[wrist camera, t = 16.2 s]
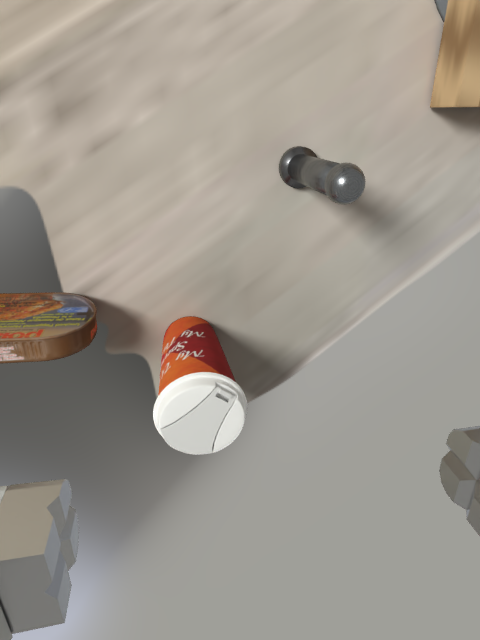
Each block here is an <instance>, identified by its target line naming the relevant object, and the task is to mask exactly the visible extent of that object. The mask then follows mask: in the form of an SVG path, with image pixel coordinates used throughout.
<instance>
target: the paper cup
mask: <svg viewBox="0 0 480 640" xmlns="http://www.w3.org/2000/svg"><path fill="white" fill-rule="evenodd" d="M247 409H248V408H247V400H246V396H245V394H244V392H243V390H242V389H241V387H240V386H239V385H238V384H237V383H236V381H235V379H234V377H233V374H232V372H231V369H230V367H229V364H228V362H227V359H226V357H225V355H224V352H223V350H222V347H221V345H220V343H219V340H218V338H217V336H216V334H215V332H214V330H213V328H212V327H211V325H210V324H209V323H208V322H206V321H205V320H203V319H201V318H198V317H192V316H190V317H183V318H180V319H178V320H176V321H175V322H173V323H172V324H171V325H170V326H169V327H168V329H167V331H166V333H165V336H164V341H163V350H162V360H161V372H160V384H159V396H158V398H157V400H156V402H155V405H154V410H153V419H154V423H155V426H156V429H157V430H158V432H159V433H160V434H161V436H162V437H163V438H164V439H165V441H166V442H167V443H168V444H169V446H171V447H172V448H174V449H176V450H179V451H182V452H184V453H188V454H197V455H198V454H207V453H213V452H217V451H219V450H221V449H223V448H225V447H226V446H228V445H229V444H231V443H232V442H233V441H234V440H235V439H236V438H237V436H238V435H239V433H240V432H241V430H242V428H243V425H244V421H245V418H246V415H247Z"/></svg>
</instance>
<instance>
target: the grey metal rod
mask: <svg viewBox="0 0 480 640" xmlns="http://www.w3.org/2000/svg"><path fill="white" fill-rule="evenodd" d="M279 173H280V176H281V178H282V180H283V181H284V182H285V183H286V184H288V185H290V186H291V187H294V188H303V187H306V186H308V187H310V188H312V189H314V190H316V191H318V192H321V193H323V194H325V195H327V196H328V197H329V198H330V199H331V200H332V201H333V202H335V203H338V204H349V203H352V202H354V201H355V200H357V199H358V198H359V197H360V196H361V194H362V193H363V191H364V188H365V176H364V174H363V172H362V170H361V169H360V168H359V167H358V166H356V165H354V164H352V163H341V164H339V163H335V162H331V161H328V160H324V159H320V158H317V156H316V155H315V153H314V152H313V151H312V150H310V149H309V148H306V147H301V146H297V147H293V148H291V149H289V150H287V151H286V152H285V153H284V155H283V156H282V158H281V160H280V164H279Z"/></svg>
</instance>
